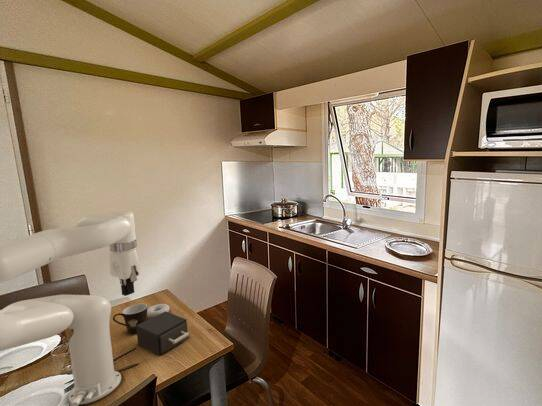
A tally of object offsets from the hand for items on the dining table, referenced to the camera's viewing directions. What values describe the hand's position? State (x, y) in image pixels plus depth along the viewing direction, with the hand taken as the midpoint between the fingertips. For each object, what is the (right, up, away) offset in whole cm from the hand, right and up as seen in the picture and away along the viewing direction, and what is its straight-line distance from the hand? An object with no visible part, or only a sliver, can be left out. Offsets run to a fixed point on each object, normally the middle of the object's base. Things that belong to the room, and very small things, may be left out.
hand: (128, 293), depth 100 cm
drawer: (+8, -23, +10) cm, 27 cm away
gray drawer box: (+5, -24, +12) cm, 27 cm away
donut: (-11, -21, +32) cm, 39 cm away
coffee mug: (-13, -22, +19) cm, 32 cm away
